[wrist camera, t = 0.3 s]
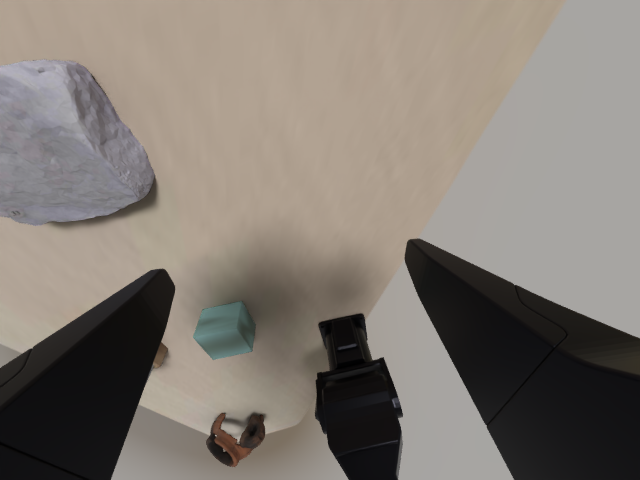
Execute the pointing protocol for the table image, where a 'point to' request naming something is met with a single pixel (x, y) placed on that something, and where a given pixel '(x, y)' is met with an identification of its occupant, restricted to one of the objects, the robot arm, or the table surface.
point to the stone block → (64, 146)
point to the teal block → (225, 330)
